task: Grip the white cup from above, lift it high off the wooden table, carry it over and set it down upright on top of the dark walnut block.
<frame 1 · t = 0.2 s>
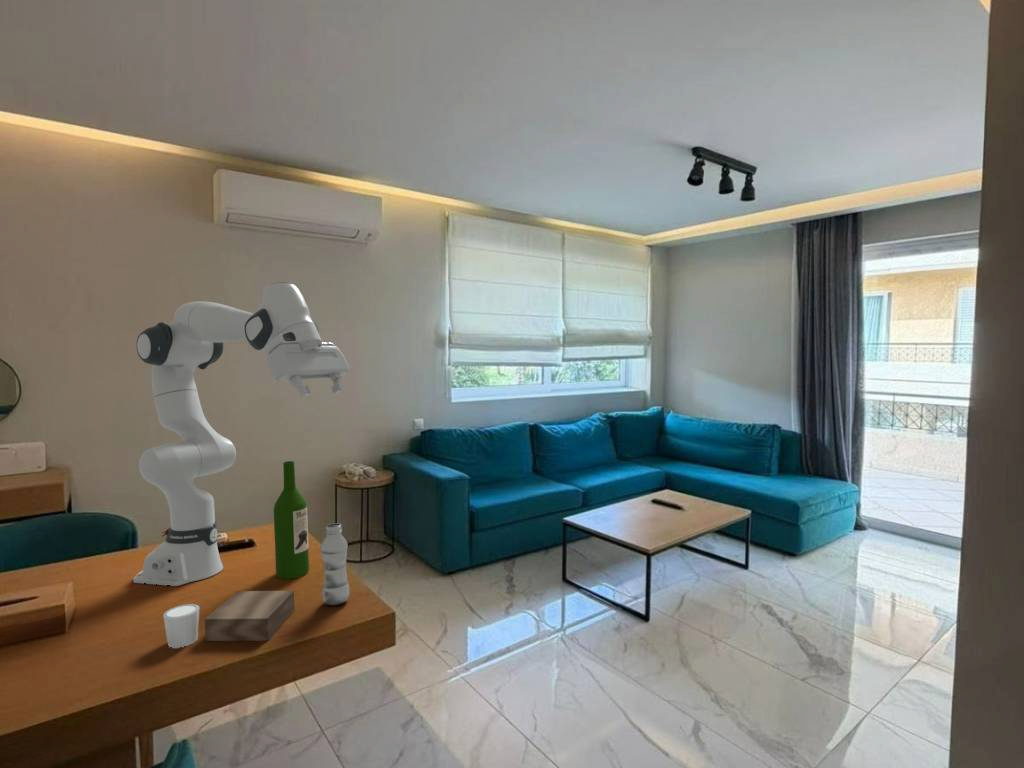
hand: (322, 393, 127), 54 cm above the table, tool tilted 30°, fingers open, 8 cm apart
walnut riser: (252, 624, 126), on the table
plastic bottle: (336, 603, 137), on the table
wine bottle: (292, 573, 156), on the table
white cup: (183, 642, 119), on the table
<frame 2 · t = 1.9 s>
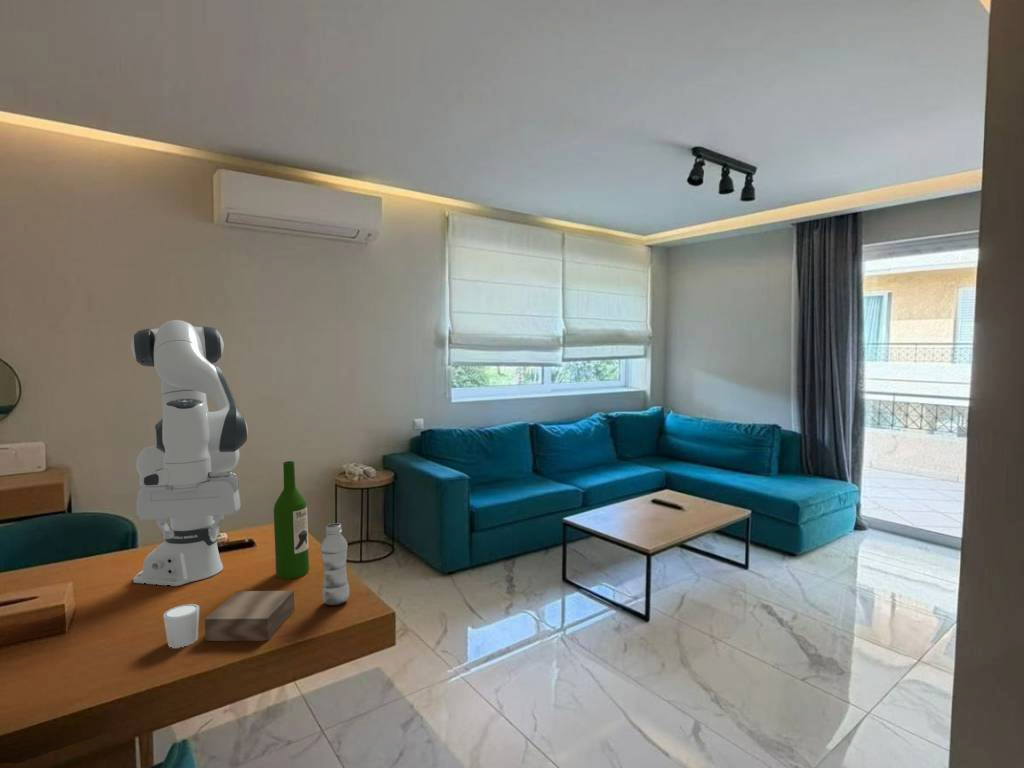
hand: (191, 536, 117), 24 cm above the table, tool pointing down, fingers open, 8 cm apart
nothing on the table moved.
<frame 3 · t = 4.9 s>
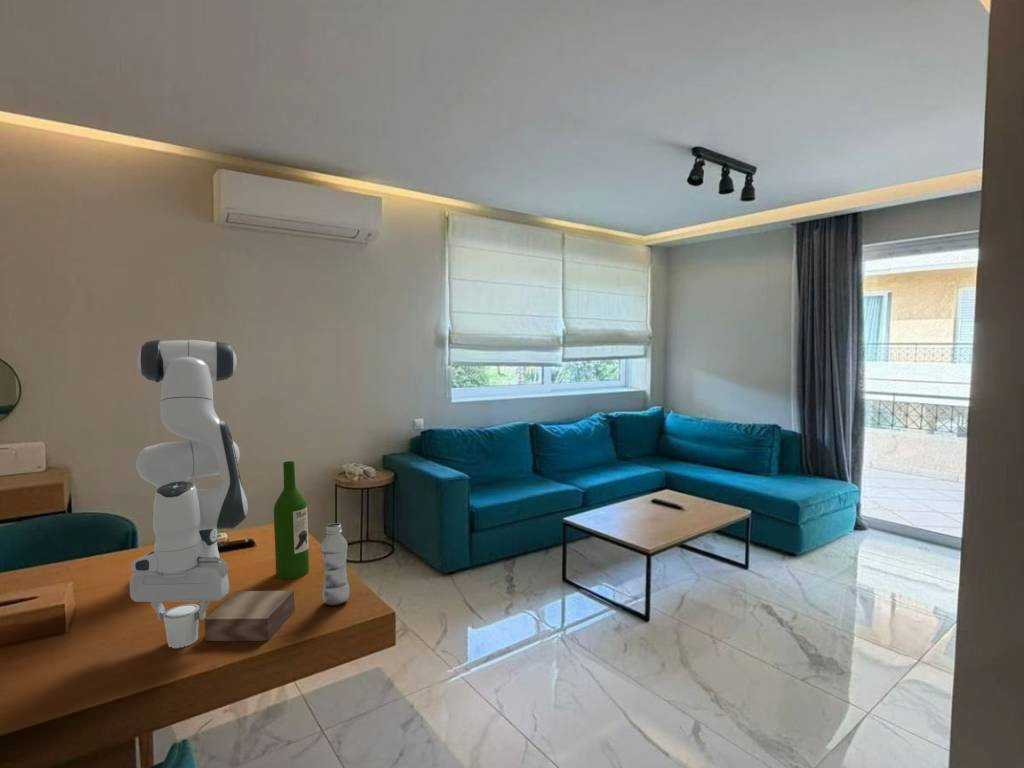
hand: (182, 618, 119), 5 cm above the table, tool pointing down, fingers closed on white cup, 7 cm apart
white cup: (183, 642, 119), on the table, touching gripper
everything else where it was.
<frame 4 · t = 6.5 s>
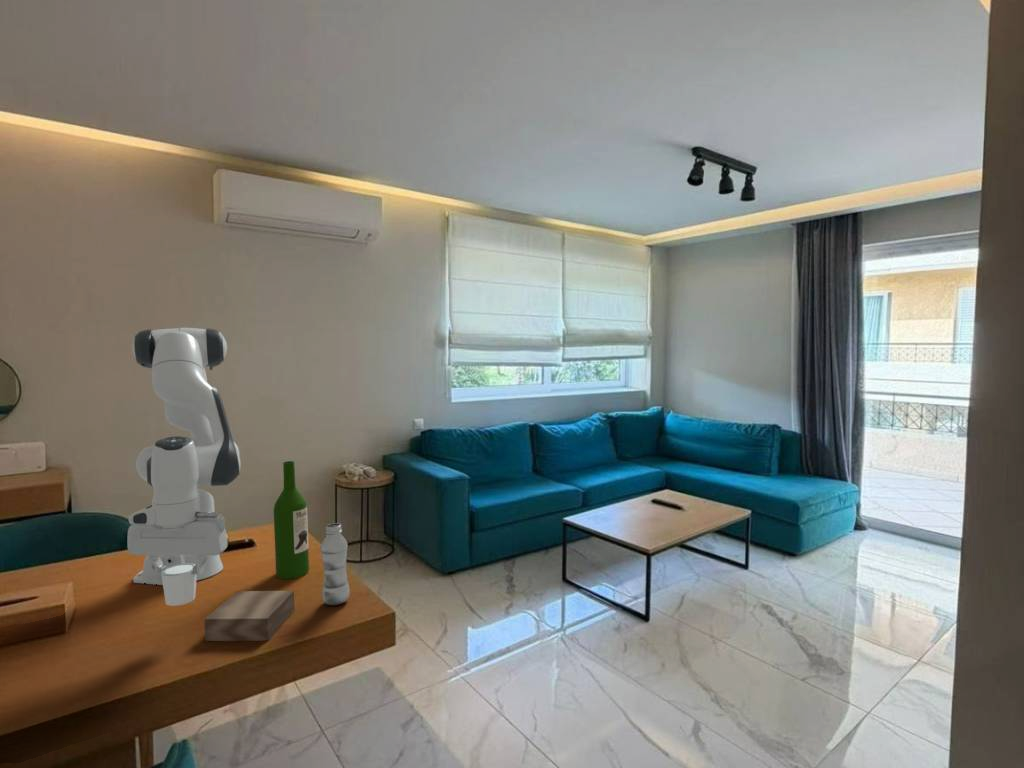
hand: (179, 573, 118), 15 cm above the table, tool pointing down, fingers closed on white cup, 7 cm apart
white cup: (180, 600, 119), point 9 cm above the table, touching gripper
everything else where it was.
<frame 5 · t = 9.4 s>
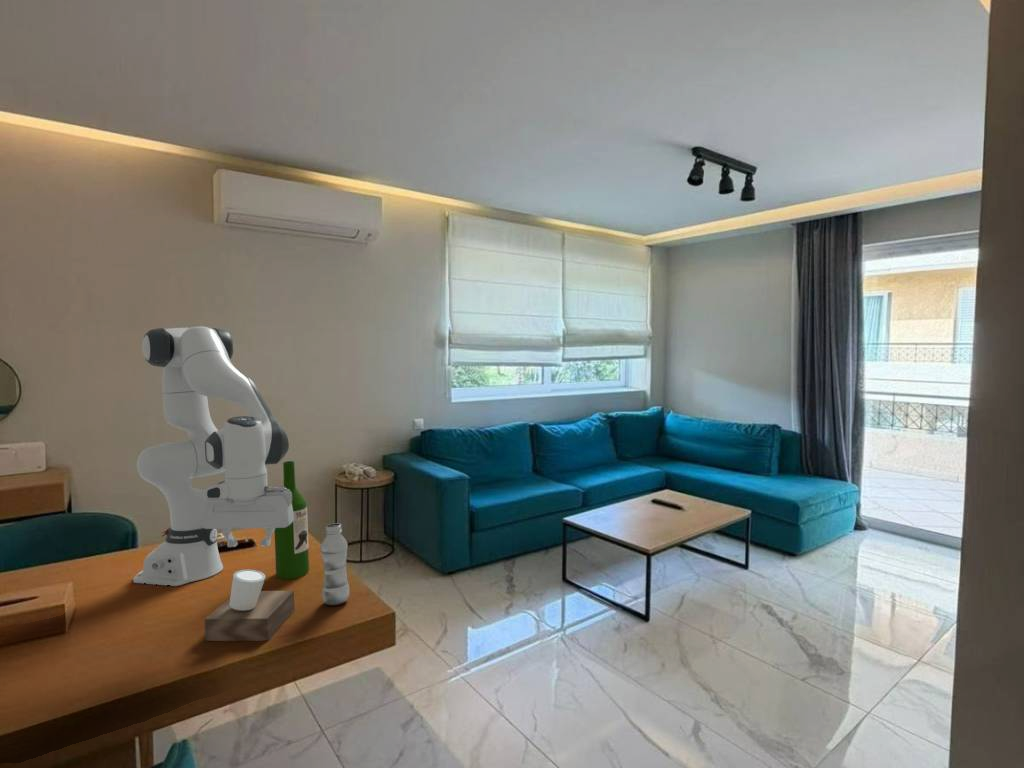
hand: (249, 546, 125), 19 cm above the table, tool pointing down, fingers open, 6 cm apart
white cup: (242, 605, 124), point 6 cm above the table, touching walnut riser
everything else where it was.
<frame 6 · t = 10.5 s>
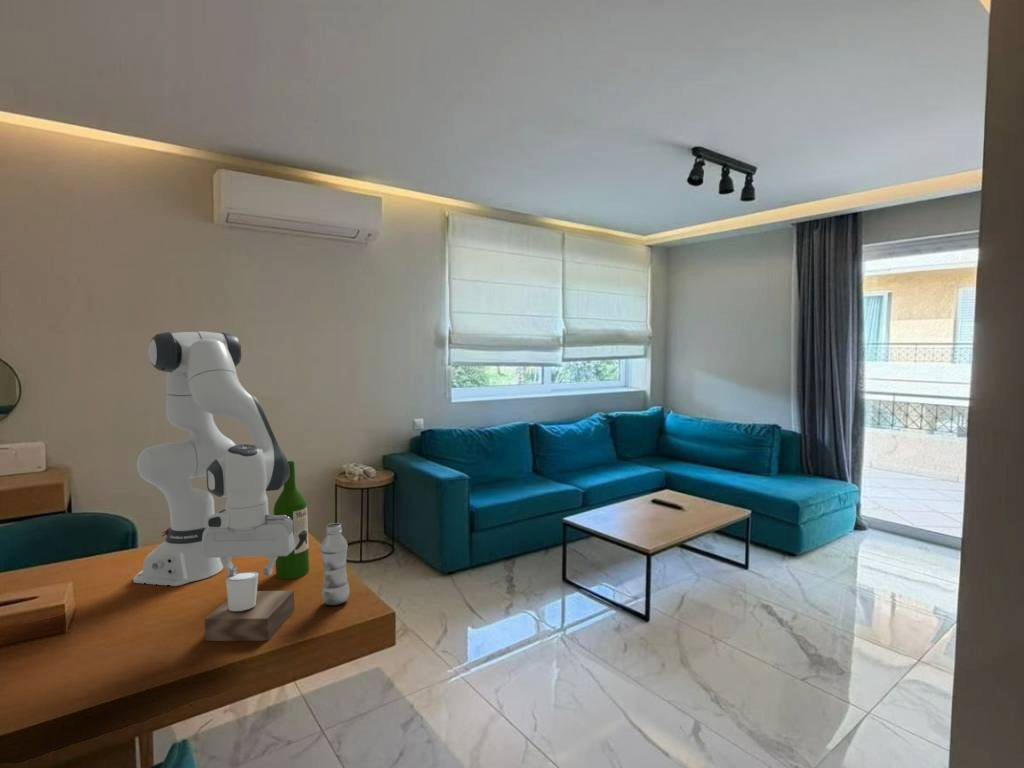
hand: (250, 574, 125), 12 cm above the table, tool pointing down, fingers open, 7 cm apart
white cup: (242, 607, 124), point 5 cm above the table, touching gripper, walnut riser
everything else where it was.
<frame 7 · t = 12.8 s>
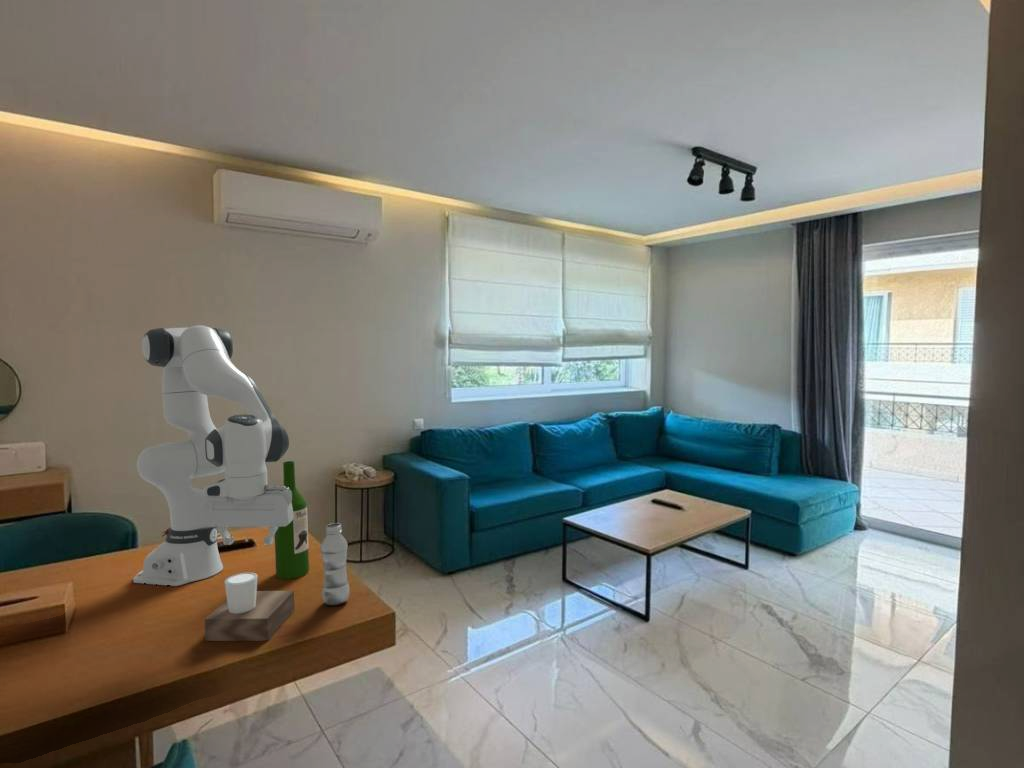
hand: (248, 544, 125), 19 cm above the table, tool pointing down, fingers open, 8 cm apart
white cup: (242, 608, 124), point 5 cm above the table, touching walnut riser
everything else where it was.
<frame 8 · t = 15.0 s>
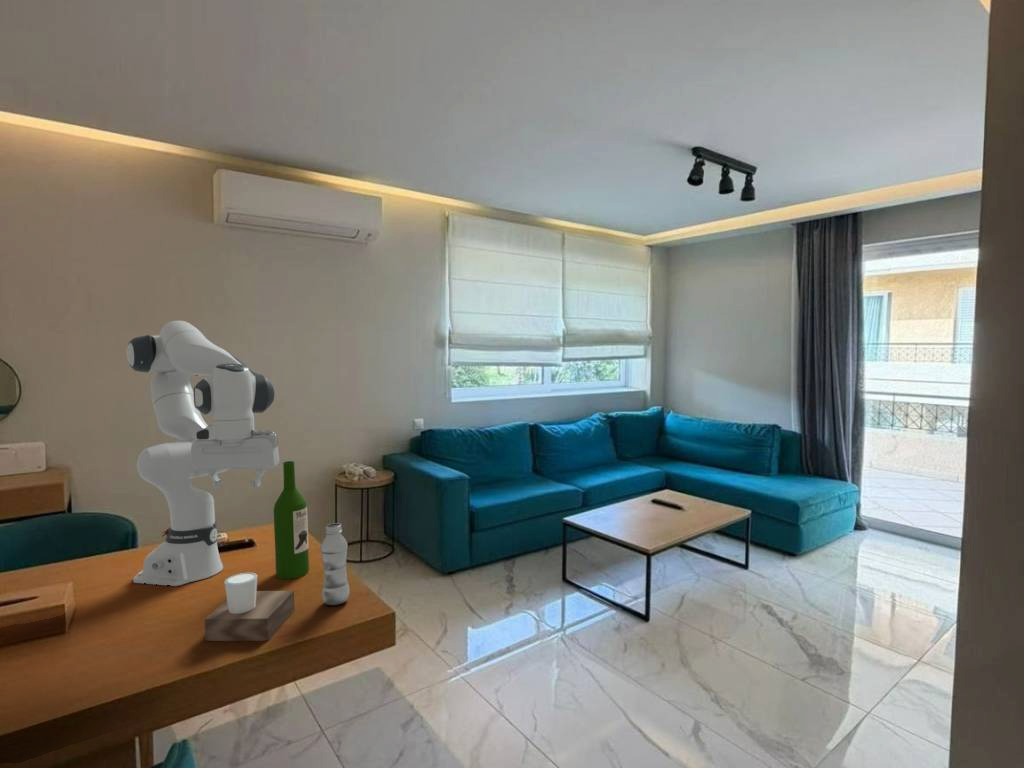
hand: (236, 486, 131), 31 cm above the table, tool pointing down, fingers open, 8 cm apart
nothing on the table moved.
at the end: white cup inside the target area on the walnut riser (2.2 cm from its centre), point 4.8 cm above the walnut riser's base; white cup tilted 0°; the gripper is holding nothing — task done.
